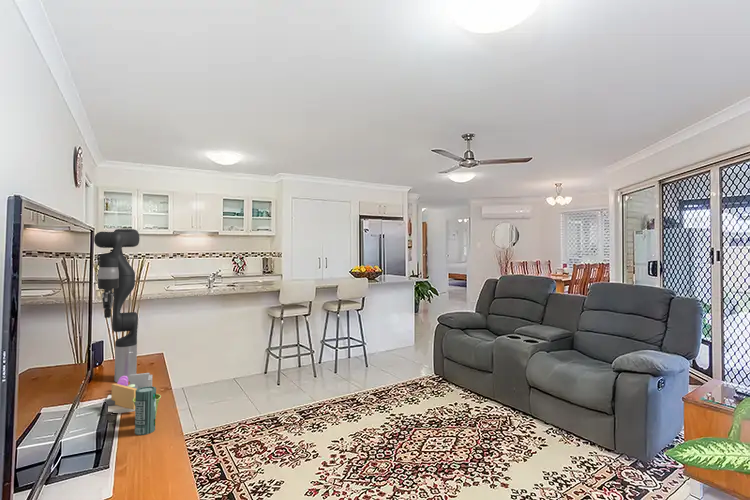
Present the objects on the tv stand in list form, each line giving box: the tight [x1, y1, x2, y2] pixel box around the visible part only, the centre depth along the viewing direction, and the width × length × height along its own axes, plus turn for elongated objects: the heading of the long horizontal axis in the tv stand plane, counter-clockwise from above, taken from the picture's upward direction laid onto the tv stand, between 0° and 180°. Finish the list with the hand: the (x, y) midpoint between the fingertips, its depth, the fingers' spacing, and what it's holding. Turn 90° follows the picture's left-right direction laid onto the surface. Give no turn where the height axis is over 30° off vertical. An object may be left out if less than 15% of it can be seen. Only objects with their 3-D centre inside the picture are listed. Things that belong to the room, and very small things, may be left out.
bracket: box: [116, 376, 129, 386], centre depth 184 cm, size 13×6×7 cm, turn 116°
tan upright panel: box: [105, 382, 137, 410], centre depth 162 cm, size 16×5×8 cm, turn 65°
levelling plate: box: [106, 372, 153, 414], centre depth 170 cm, size 21×18×10 cm
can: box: [134, 385, 157, 436], centre depth 144 cm, size 6×6×15 cm
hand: (107, 317), depth 175 cm, fingers closed
